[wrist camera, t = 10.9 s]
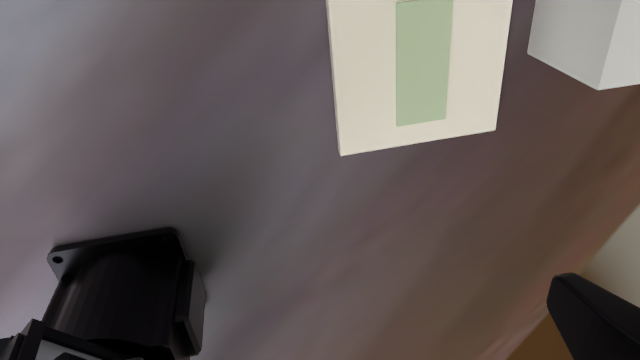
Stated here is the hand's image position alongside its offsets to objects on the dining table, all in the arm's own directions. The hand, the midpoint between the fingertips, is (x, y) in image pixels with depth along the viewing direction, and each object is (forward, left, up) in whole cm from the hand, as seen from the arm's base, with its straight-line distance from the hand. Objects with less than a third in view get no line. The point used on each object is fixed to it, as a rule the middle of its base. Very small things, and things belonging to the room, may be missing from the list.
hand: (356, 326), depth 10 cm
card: (+6, +1, -13) cm, 14 cm away
